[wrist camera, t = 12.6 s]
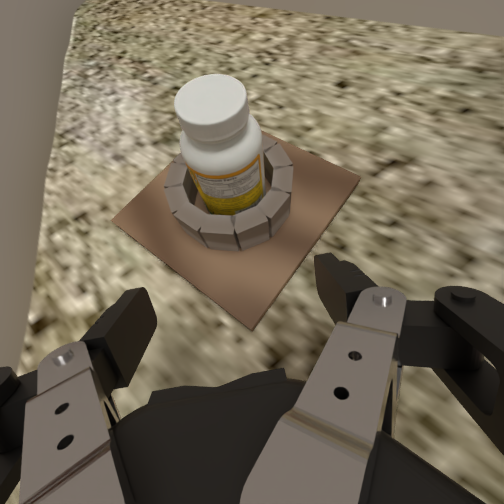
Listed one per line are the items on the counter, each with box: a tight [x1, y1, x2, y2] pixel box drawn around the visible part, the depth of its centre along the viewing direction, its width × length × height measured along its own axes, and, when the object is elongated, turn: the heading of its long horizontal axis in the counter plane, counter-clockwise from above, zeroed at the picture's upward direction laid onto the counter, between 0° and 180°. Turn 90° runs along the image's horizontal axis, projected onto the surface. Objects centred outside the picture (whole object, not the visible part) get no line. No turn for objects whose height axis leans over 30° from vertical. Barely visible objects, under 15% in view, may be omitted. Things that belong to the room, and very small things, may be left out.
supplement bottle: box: [174, 74, 266, 216], centre depth 18 cm, size 5×5×10 cm
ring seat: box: [111, 131, 361, 331], centre depth 22 cm, size 16×16×4 cm
